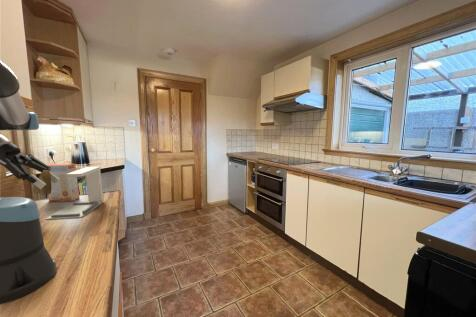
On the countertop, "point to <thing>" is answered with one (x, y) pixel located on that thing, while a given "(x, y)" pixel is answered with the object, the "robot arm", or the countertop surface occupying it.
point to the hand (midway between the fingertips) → (50, 183)
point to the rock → (47, 180)
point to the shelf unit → (93, 195)
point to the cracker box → (63, 183)
